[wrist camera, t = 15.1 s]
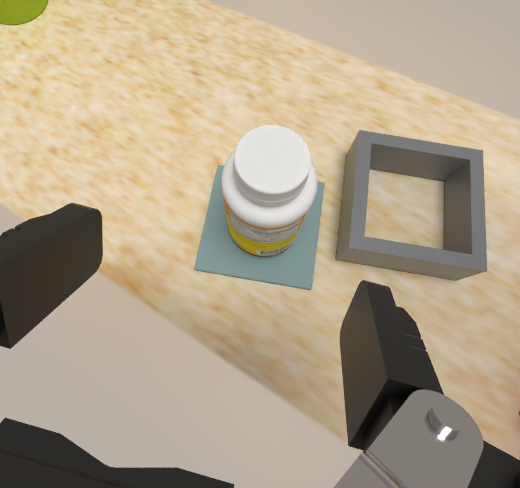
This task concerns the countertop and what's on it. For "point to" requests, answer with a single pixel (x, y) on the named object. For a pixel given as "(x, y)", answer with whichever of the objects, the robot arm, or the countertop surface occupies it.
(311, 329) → the countertop surface
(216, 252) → the mat
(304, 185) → the supplement bottle
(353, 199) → the square frame
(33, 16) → the soap dispenser
